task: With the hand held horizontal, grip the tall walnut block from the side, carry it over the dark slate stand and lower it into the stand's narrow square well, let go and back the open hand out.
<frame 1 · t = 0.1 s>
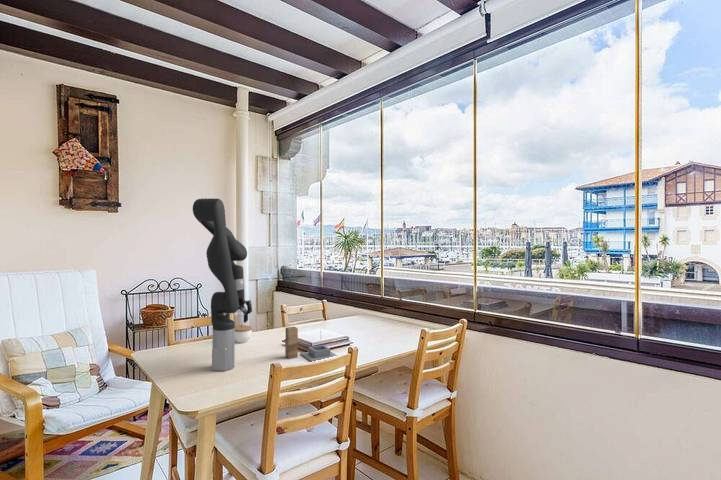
hand: (236, 321, 185), 17 cm above the table, tool pointing down, fingers open, 8 cm apart
lidded jar: (241, 342, 214), on the table
walnut block: (291, 357, 187), on the table
slate stand: (319, 356, 189), on the table
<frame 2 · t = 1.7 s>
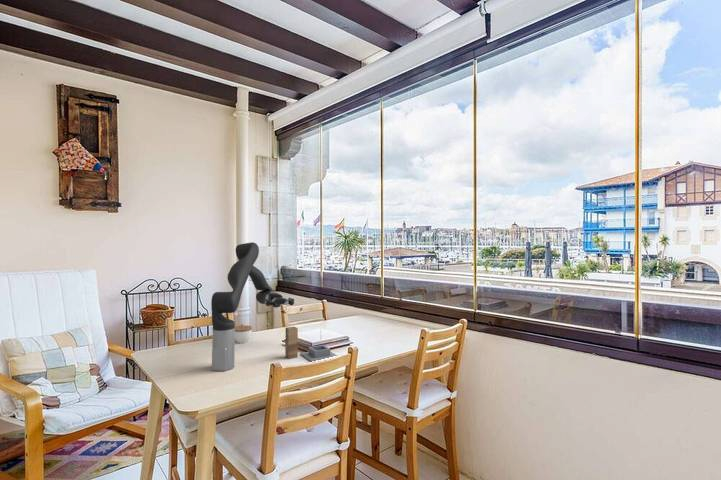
hand: (284, 304, 197), 24 cm above the table, tool horizontal, fingers open, 8 cm apart
nothing on the table moved.
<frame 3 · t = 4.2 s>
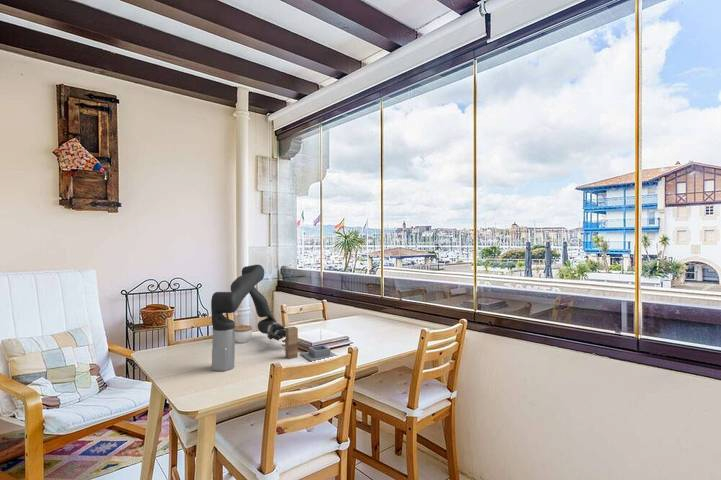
hand: (286, 337, 193), 8 cm above the table, tool horizontal, fingers open, 8 cm apart
nothing on the table moved.
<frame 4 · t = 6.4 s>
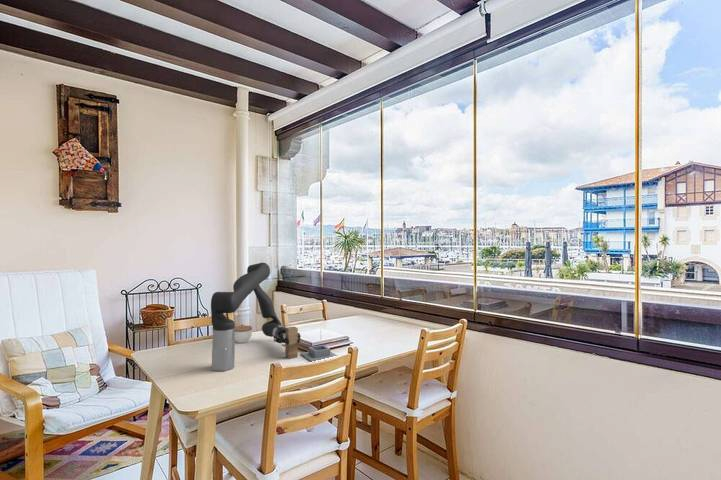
hand: (293, 341, 185), 8 cm above the table, tool horizontal, fingers closed on walnut block, 4 cm apart
walnut block: (291, 357, 187), on the table, touching gripper
everything else where it was.
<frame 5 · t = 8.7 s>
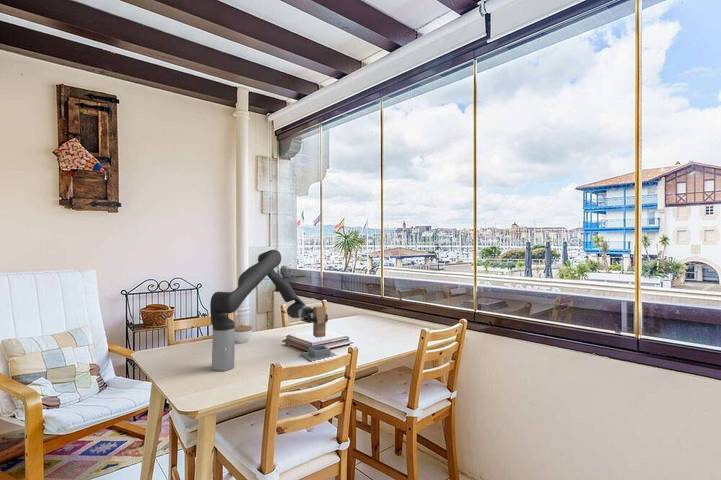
hand: (321, 320, 187), 18 cm above the table, tool horizontal, fingers closed on walnut block, 4 cm apart
walnut block: (319, 336, 189), point 10 cm above the table, touching gripper
everything else where it was.
when the fingers open (10 cm above the table, at t = 10.9 s): walnut block stays where it is, resting on slate stand.
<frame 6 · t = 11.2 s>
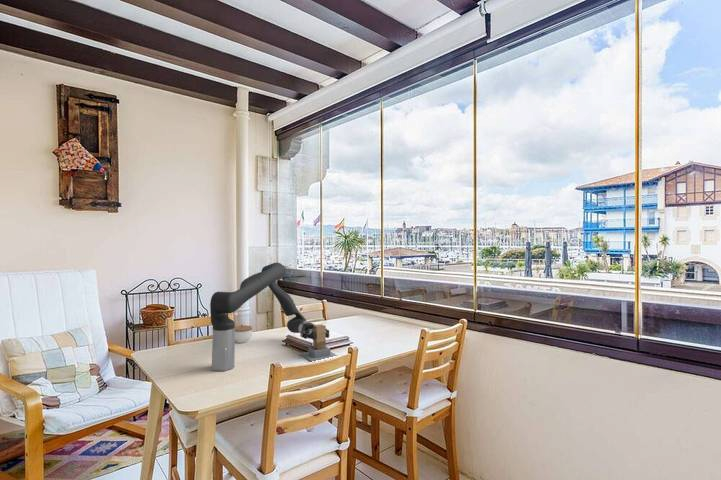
hand: (321, 336, 187), 10 cm above the table, tool horizontal, fingers open, 6 cm apart
walnut block: (319, 354, 189), point 1 cm above the table, touching slate stand
everything else where it was.
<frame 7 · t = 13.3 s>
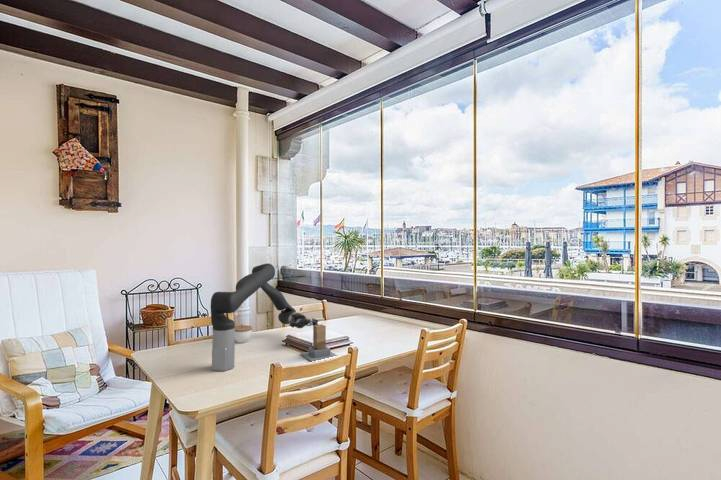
hand: (308, 325, 198), 13 cm above the table, tool horizontal, fingers open, 8 cm apart
nothing on the table moved.
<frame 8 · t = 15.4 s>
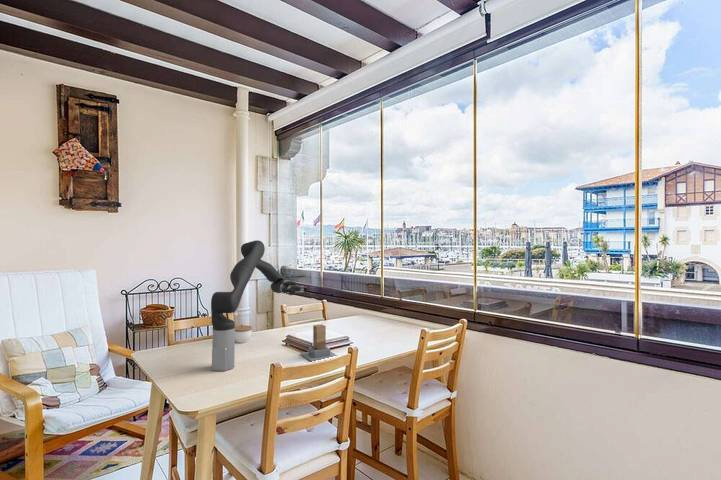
hand: (299, 290, 201), 30 cm above the table, tool horizontal, fingers open, 8 cm apart
nothing on the table moved.
at the end: walnut block 0.0 cm off-centre on the slate stand, point 0.8 cm above the slate stand's base; walnut block tilted 0°; the gripper is holding nothing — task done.
